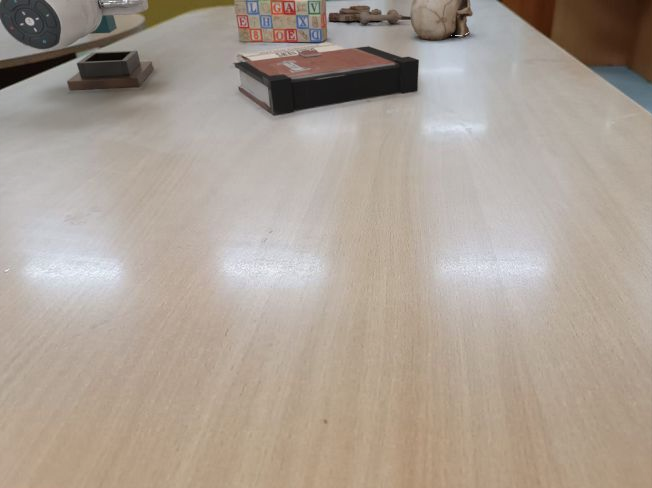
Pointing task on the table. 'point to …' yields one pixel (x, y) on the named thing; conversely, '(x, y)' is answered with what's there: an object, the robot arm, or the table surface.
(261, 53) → the newspaper
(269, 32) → the stack of blocks
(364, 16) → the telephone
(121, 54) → the lower pad
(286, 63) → the book
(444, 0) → the skull
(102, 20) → the teal rectangular block
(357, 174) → the table surface
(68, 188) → the table surface
